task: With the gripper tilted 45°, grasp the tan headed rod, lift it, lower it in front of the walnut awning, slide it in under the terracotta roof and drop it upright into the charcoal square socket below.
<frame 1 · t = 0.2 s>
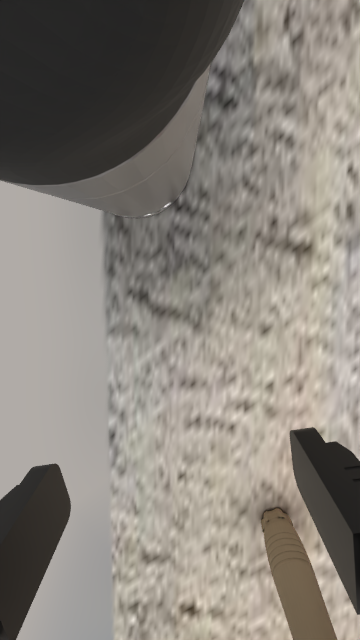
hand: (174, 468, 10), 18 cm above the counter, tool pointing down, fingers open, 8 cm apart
tan headed rod: (273, 515, 34), on the counter
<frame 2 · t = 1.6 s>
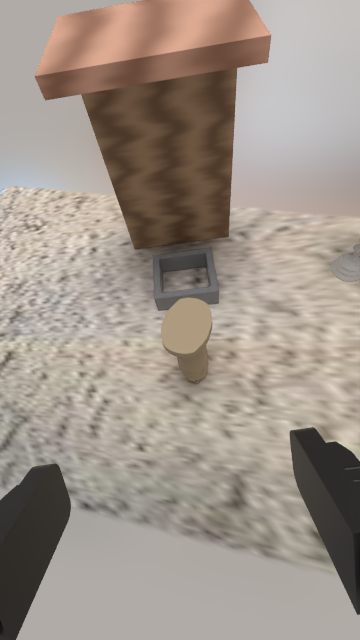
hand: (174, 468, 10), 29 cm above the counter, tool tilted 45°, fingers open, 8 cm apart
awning: (185, 285, 50), on the counter
tan headed rod: (195, 373, 42), on the counter
socket: (185, 285, 50), on the counter
chalice: (346, 269, 48), on the counter
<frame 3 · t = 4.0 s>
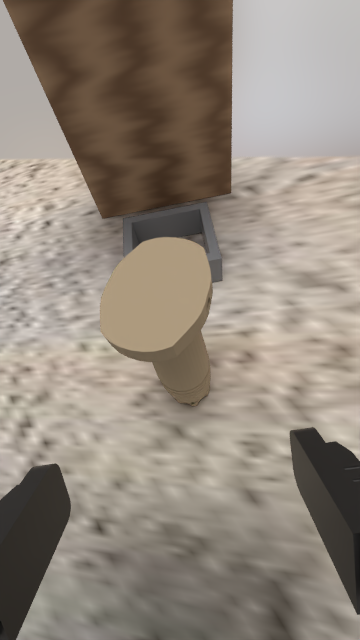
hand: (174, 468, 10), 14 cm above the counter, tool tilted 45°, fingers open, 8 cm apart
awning: (173, 259, 34), on the counter
tan headed rod: (191, 389, 26), on the counter
socket: (173, 259, 34), on the counter
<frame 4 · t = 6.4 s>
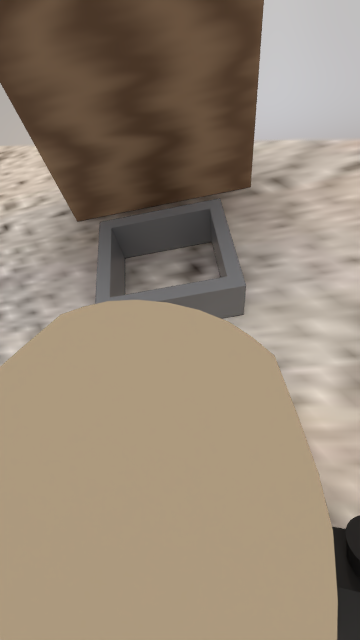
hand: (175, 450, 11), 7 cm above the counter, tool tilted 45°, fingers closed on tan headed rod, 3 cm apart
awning: (171, 279, 24), on the counter
tan headed rod: (199, 506, 16), on the counter, touching gripper
socket: (171, 279, 24), on the counter
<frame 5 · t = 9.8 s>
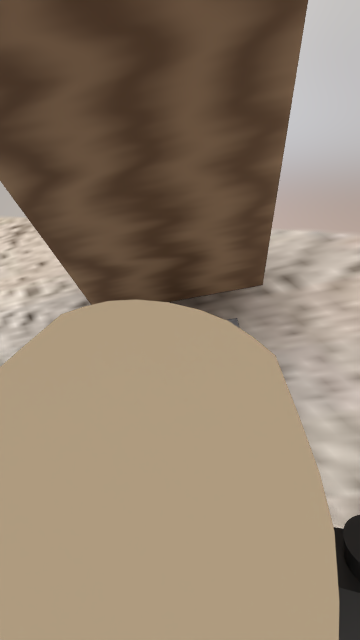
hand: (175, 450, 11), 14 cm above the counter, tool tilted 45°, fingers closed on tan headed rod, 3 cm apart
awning: (191, 389, 26), on the counter
tan headed rod: (200, 507, 16), point 7 cm above the counter, touching gripper
when the fingers open (8 cm above the counter, at t = 13.0 s): tan headed rod stays where it is, resting in socket.
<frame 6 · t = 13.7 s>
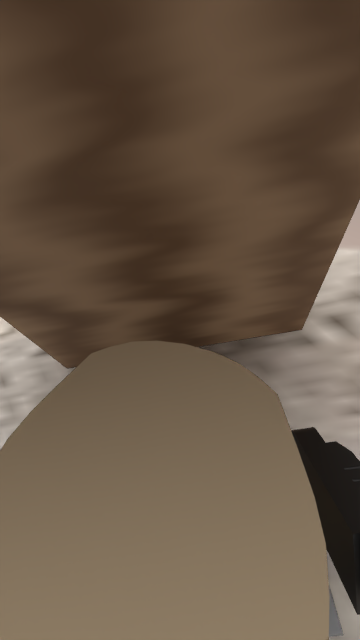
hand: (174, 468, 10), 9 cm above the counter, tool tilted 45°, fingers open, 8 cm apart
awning: (201, 506, 16), on the counter
tan headed rod: (201, 510, 16), resting in socket
socket: (201, 506, 16), on the counter
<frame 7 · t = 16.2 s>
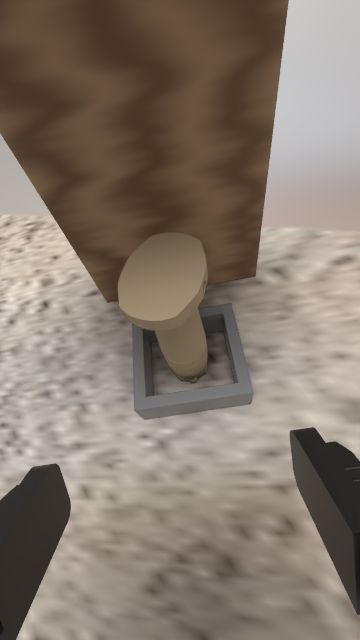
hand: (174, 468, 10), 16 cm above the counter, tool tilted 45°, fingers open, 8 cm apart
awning: (190, 367, 29), on the counter
tan headed rod: (191, 369, 29), resting in socket
socket: (190, 367, 29), on the counter
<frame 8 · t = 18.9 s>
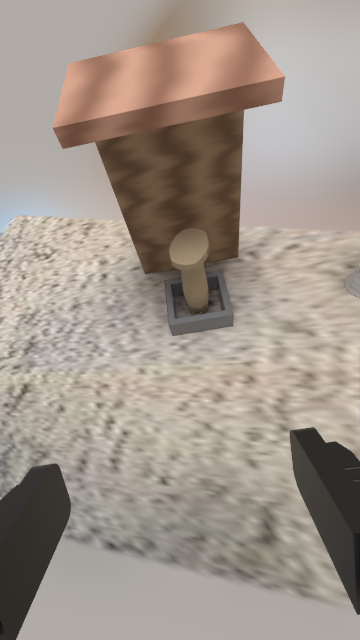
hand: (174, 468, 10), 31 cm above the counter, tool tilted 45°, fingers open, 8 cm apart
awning: (198, 308, 50), on the counter
tan headed rod: (198, 309, 50), resting in socket
socket: (198, 308, 50), on the counter
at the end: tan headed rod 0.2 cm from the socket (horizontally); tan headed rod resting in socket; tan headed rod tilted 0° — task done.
